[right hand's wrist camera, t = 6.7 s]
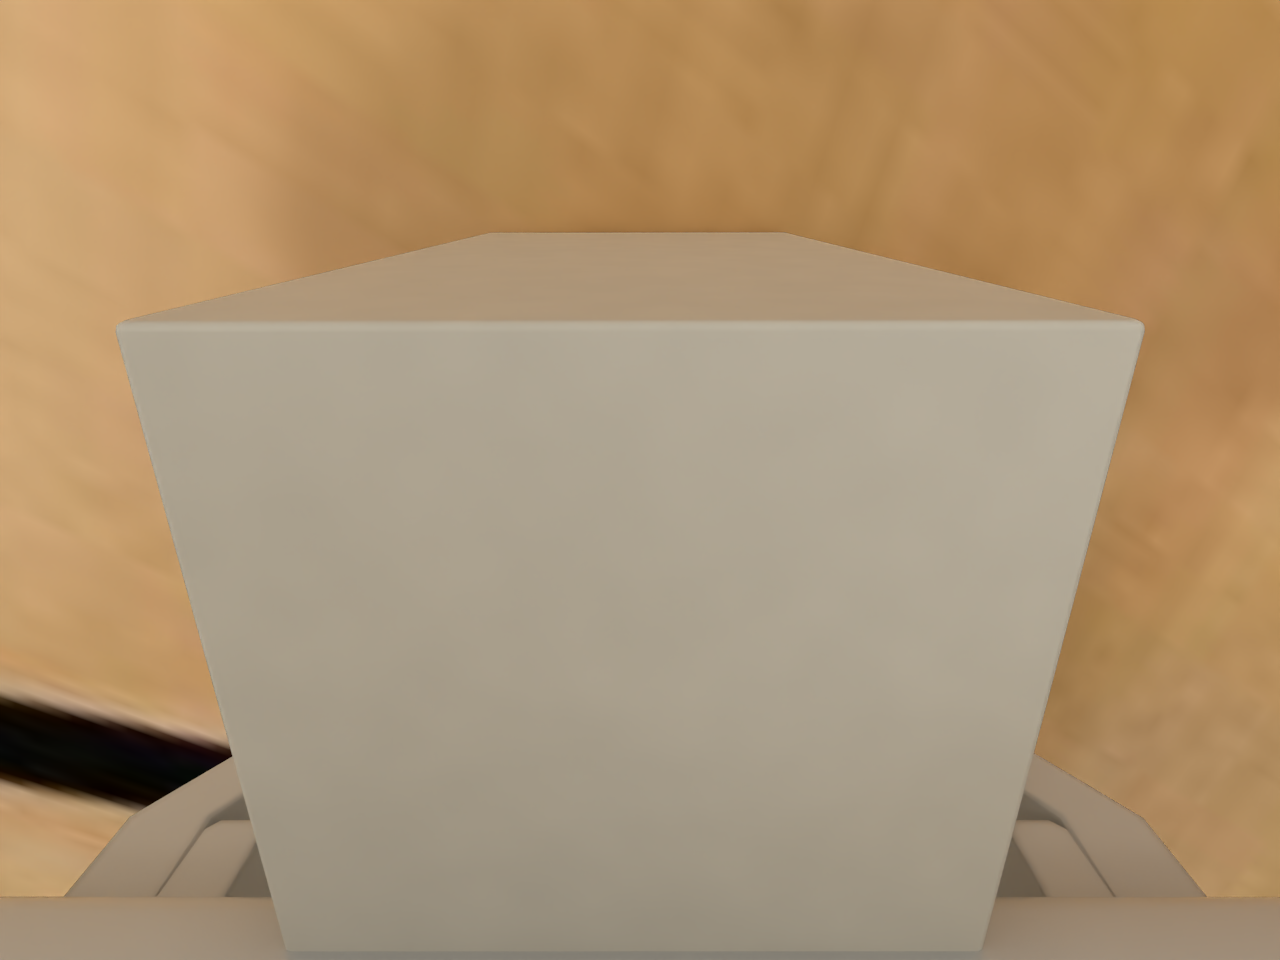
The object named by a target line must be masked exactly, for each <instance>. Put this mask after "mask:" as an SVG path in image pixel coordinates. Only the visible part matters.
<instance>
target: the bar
mask: <svg viewBox="0 0 1280 960" xmlns="http://www.w3.org/2000/svg"><path fill="white" fill-rule="evenodd" d="M1144 332H1145V329H1144V324H1143V323H1142V322H1141V321H1139V320H1136V319H1134V318H1130V317H1126V316H1122V315H1118V314H1113V313H1109V312H1105V311H1101V310H1097V309H1093V308H1089V307H1085V306H1081V305H1077V304H1073V303H1069V302H1065V301H1061V300H1057V299H1053V298H1049V297H1045V296H1040V295H1036V294H1032V293H1028V292H1024V291H1020V290H1016V289H1012V288H1008V287H1004V286H1000V285H996V284H992V283H988V282H984V281H980V280H976V279H972V278H968V277H963V276H959V275H955V274H951V273H947V272H943V271H939V270H935V269H931V268H927V267H923V266H919V265H915V264H911V263H907V262H903V261H899V260H895V259H890V258H886V257H882V256H878V255H874V254H870V253H866V252H862V251H858V250H854V249H850V248H846V247H842V246H838V245H834V244H830V243H826V242H822V241H818V240H813V239H809V238H805V237H801V236H797V235H793V234H789V233H785V232H600V233H487V234H482V235H478V236H474V237H470V238H466V239H462V240H457V241H453V242H449V243H445V244H441V245H437V246H432V247H428V248H424V249H420V250H416V251H412V252H407V253H403V254H399V255H395V256H391V257H387V258H382V259H378V260H374V261H370V262H366V263H362V264H357V265H353V266H349V267H345V268H341V269H337V270H332V271H328V272H324V273H320V274H316V275H312V276H307V277H303V278H299V279H295V280H291V281H287V282H282V283H278V284H274V285H270V286H266V287H262V288H257V289H253V290H249V291H245V292H241V293H237V294H232V295H228V296H224V297H220V298H216V299H212V300H207V301H203V302H199V303H195V304H191V305H187V306H182V307H178V308H174V309H170V310H166V311H162V312H157V313H153V314H149V315H145V316H141V317H137V318H133V319H128V320H125V321H123V322H121V323H119V324H118V325H117V326H116V335H117V339H118V342H119V346H120V350H121V353H122V357H123V360H124V364H125V368H126V371H127V375H128V379H129V382H130V386H131V389H132V393H133V397H134V400H135V404H136V408H137V411H138V415H139V418H140V422H141V426H142V429H143V433H144V437H145V440H146V444H147V447H148V451H149V455H150V458H151V462H152V466H153V469H154V473H155V476H156V480H157V484H158V487H159V491H160V495H161V498H162V502H163V505H164V509H165V513H166V516H167V520H168V524H169V527H170V531H171V534H172V538H173V542H174V545H175V549H176V553H177V556H178V560H179V563H180V567H181V571H182V574H183V578H184V582H185V585H186V589H187V592H188V596H189V600H190V603H191V607H192V611H193V614H194V618H195V621H196V625H197V629H198V632H199V636H200V640H201V643H202V647H203V650H204V654H205V658H206V661H207V665H208V669H209V672H210V676H211V680H212V683H213V687H214V690H215V694H216V698H217V701H218V705H219V709H220V712H221V716H222V719H223V723H224V727H225V730H226V734H227V738H228V741H229V745H230V748H231V752H232V756H233V759H234V763H235V767H236V770H237V774H238V777H239V781H240V785H241V788H242V792H243V796H244V799H245V803H246V806H247V810H248V814H249V817H250V821H251V825H252V828H253V832H254V835H255V839H256V843H257V846H258V850H259V854H260V857H261V861H262V864H263V868H264V872H265V875H266V879H267V883H268V886H269V890H270V893H271V897H272V901H273V904H274V908H275V912H276V915H277V919H278V922H279V926H280V930H281V933H282V937H283V941H284V944H285V948H286V950H288V951H290V952H978V951H980V950H982V948H983V945H984V941H985V937H986V933H987V929H988V925H989V922H990V918H991V914H992V910H993V906H994V903H995V899H996V895H997V891H998V887H999V884H1000V880H1001V876H1002V872H1003V868H1004V865H1005V861H1006V857H1007V853H1008V849H1009V846H1010V842H1011V838H1012V834H1013V830H1014V827H1015V823H1016V819H1017V815H1018V811H1019V808H1020V804H1021V800H1022V796H1023V792H1024V789H1025V785H1026V781H1027V777H1028V773H1029V769H1030V766H1031V762H1032V758H1033V754H1034V750H1035V747H1036V743H1037V739H1038V735H1039V731H1040V728H1041V724H1042V720H1043V716H1044V712H1045V709H1046V705H1047V701H1048V697H1049V693H1050V690H1051V686H1052V682H1053V678H1054V674H1055V671H1056V667H1057V663H1058V659H1059V655H1060V652H1061V648H1062V644H1063V640H1064V636H1065V633H1066V629H1067V625H1068V621H1069V617H1070V613H1071V610H1072V606H1073V602H1074V598H1075V594H1076V591H1077V587H1078V583H1079V579H1080V575H1081V572H1082V568H1083V564H1084V560H1085V556H1086V553H1087V549H1088V545H1089V541H1090V537H1091V534H1092V530H1093V526H1094V522H1095V518H1096V515H1097V511H1098V507H1099V503H1100V499H1101V496H1102V492H1103V488H1104V484H1105V480H1106V477H1107V473H1108V469H1109V465H1110V461H1111V457H1112V454H1113V450H1114V446H1115V442H1116V438H1117V435H1118V431H1119V427H1120V423H1121V419H1122V416H1123V412H1124V408H1125V404H1126V400H1127V397H1128V393H1129V389H1130V385H1131V381H1132V378H1133V374H1134V370H1135V366H1136V362H1137V359H1138V355H1139V351H1140V347H1141V343H1142V340H1143V336H1144Z"/></svg>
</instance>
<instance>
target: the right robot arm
mask: <svg viewBox="0 0 1280 960" xmlns="http://www.w3.org/2000/svg"><path fill="white" fill-rule="evenodd" d="M0 960H1280V897H1207V896H1206V895H1205V894H1204V893H1203V891H1202V890H1201V889H1200V888H1199V886H1198V885H1197V884H1196V883H1195V882H1194V880H1193V879H1192V878H1191V877H1190V875H1189V874H1188V873H1187V872H1186V870H1185V869H1184V868H1183V867H1182V865H1181V864H1180V863H1179V862H1178V861H1177V859H1176V858H1175V857H1174V856H1173V854H1172V853H1171V852H1170V851H1169V849H1168V848H1167V847H1166V846H1165V844H1164V843H1163V842H1162V841H1161V839H1160V838H1159V837H1158V836H1157V835H1156V833H1155V832H1154V831H1153V830H1152V828H1151V827H1150V826H1149V825H1148V823H1147V822H1146V821H1145V820H1144V818H1142V817H1140V816H1139V815H1137V814H1135V813H1134V812H1132V811H1130V810H1129V809H1127V808H1125V807H1124V806H1122V805H1120V804H1119V803H1117V802H1115V801H1114V800H1112V799H1110V798H1109V797H1107V796H1105V795H1103V794H1102V793H1100V792H1098V791H1097V790H1095V789H1093V788H1092V787H1090V786H1088V785H1087V784H1085V783H1083V782H1082V781H1080V780H1078V779H1077V778H1075V777H1073V776H1072V775H1070V774H1068V773H1067V772H1065V771H1063V770H1062V769H1060V768H1058V767H1056V766H1055V765H1053V764H1051V763H1050V762H1048V761H1046V760H1045V759H1043V758H1041V757H1040V756H1038V755H1036V754H1035V753H1034V754H1033V758H1032V762H1031V766H1030V769H1029V773H1028V777H1027V781H1026V785H1025V789H1024V792H1023V796H1022V800H1021V804H1020V808H1019V811H1018V815H1017V819H1016V823H1015V827H1014V830H1013V834H1012V838H1011V842H1010V846H1009V849H1008V853H1007V857H1006V861H1005V865H1004V868H1003V872H1002V876H1001V880H1000V884H999V887H998V891H997V895H996V899H995V903H994V906H993V910H992V914H991V918H990V922H989V925H988V929H987V933H986V937H985V941H984V945H983V948H982V950H980V951H978V952H290V951H288V950H286V948H285V944H284V941H283V937H282V933H281V930H280V926H279V922H278V919H277V915H276V912H275V908H274V904H273V901H272V897H271V893H270V890H269V886H268V883H267V879H266V875H265V872H264V868H263V864H262V861H261V857H260V854H259V850H258V846H257V843H256V839H255V835H254V832H253V828H252V825H251V821H250V817H249V814H248V810H247V806H246V803H245V799H244V796H243V792H242V788H241V785H240V781H239V777H238V774H237V770H236V767H235V763H234V759H233V757H231V758H229V759H227V760H226V761H224V762H222V763H221V764H219V765H217V766H216V767H214V768H212V769H210V770H209V771H207V772H205V773H204V774H202V775H200V776H199V777H197V778H195V779H193V780H192V781H190V782H188V783H187V784H185V785H183V786H182V787H180V788H178V789H176V790H175V791H173V792H171V793H170V794H168V795H166V796H165V797H163V798H161V799H160V800H158V801H156V802H154V803H153V804H151V805H149V806H148V807H146V808H144V809H143V810H141V811H139V812H137V813H136V814H134V815H132V816H131V817H129V819H128V820H127V821H126V822H125V823H124V825H123V826H122V827H121V828H120V829H119V831H118V832H117V833H116V834H115V835H114V837H113V838H112V839H111V840H110V841H109V843H108V844H107V845H106V846H105V848H104V849H103V850H102V851H101V852H100V854H99V855H98V856H97V857H96V858H95V860H94V861H93V862H92V863H91V864H90V866H89V867H88V868H87V869H86V870H85V872H84V873H83V874H82V875H81V876H80V878H79V879H78V880H77V881H76V883H75V884H74V885H73V886H72V887H71V889H70V890H69V891H68V892H67V893H66V895H65V896H64V897H0Z"/></svg>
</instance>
